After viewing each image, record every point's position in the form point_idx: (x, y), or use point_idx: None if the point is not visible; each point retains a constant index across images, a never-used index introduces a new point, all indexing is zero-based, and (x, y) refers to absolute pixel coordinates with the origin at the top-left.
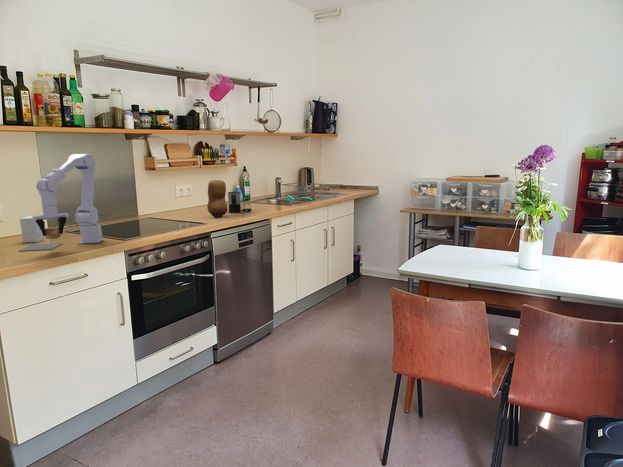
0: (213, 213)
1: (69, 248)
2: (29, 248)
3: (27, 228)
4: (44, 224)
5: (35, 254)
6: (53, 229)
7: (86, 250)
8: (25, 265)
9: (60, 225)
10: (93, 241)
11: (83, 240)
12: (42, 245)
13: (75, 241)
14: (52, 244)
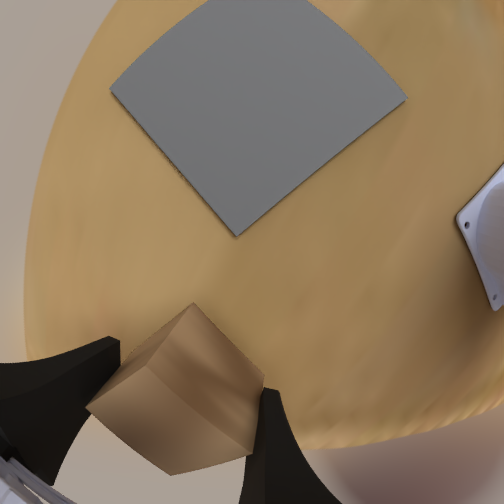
0: None
1: (334, 302)
2: (169, 71)
3: None
4: (60, 461)
5: (121, 269)
6: (156, 458)
7: (327, 423)
8: None
9: (246, 485)
10: (496, 283)
11: (484, 239)
12: (277, 42)
13: (482, 114)
14: (340, 72)
